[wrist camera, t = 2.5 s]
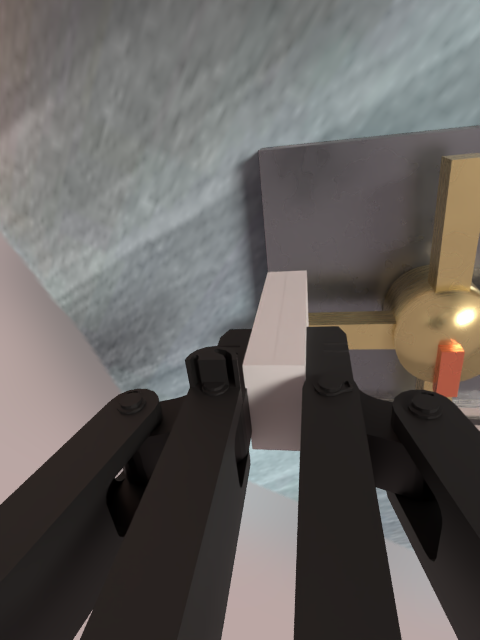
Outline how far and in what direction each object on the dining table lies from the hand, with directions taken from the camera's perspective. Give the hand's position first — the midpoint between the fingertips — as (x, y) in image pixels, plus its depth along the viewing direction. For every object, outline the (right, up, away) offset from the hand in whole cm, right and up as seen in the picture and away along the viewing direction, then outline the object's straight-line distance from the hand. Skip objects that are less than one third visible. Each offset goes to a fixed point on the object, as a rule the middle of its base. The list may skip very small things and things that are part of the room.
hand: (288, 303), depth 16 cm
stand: (+12, +1, +14) cm, 18 cm away
